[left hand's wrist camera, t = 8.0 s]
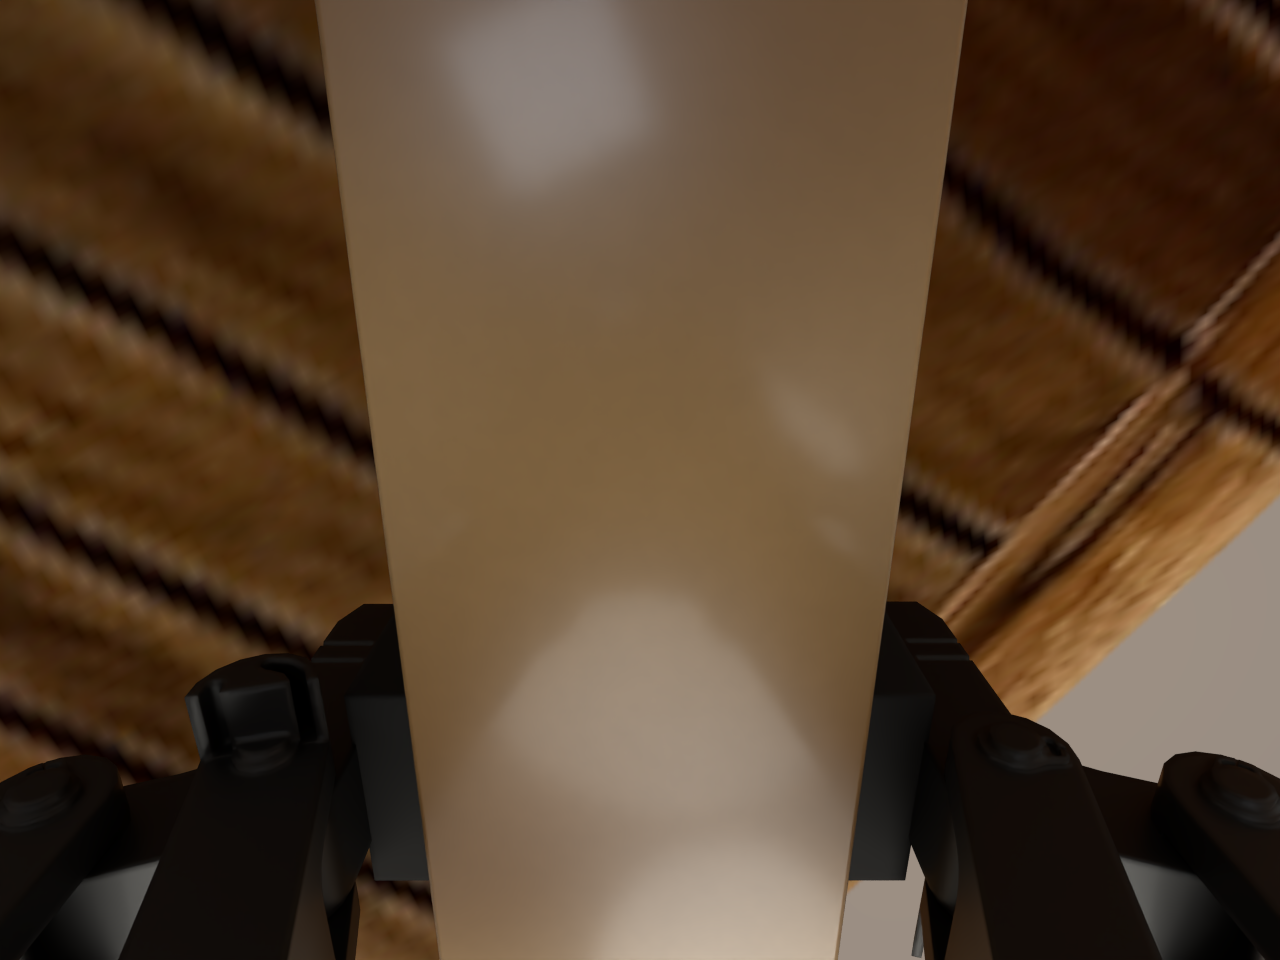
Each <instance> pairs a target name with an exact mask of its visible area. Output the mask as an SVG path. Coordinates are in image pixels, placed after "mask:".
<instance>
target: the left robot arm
mask: <svg viewBox="0 0 1280 960" xmlns="http://www.w3.org/2000/svg"><path fill="white" fill-rule="evenodd" d="M311 660H312V661H310V660H308V659H307V658H306V657H302V656H297V655H293V654H289V653H283V654H263V655H259V656H255V657H250V658H246V659H241V660H238V661H236V662H234V663H231V664H229V665H226V666H224V667H222V668H219V669H217V670H215V671H214V672H212V673H211V674H209V675H208V676H206V677H205V678H203V679H202V680H200V681H199V682H197V683H196V684H195V686H194V687H193V688H192V689H191V690H190V692H189V693H188V694H187V695H186V696H185V701H186V705H187V709H188V713H189V717H190V721H191V724H192V728H193V732H194V736H195V740H196V744H197V748H198V752H199V755H200V759H201V761H200V764H199V766H198V768H197V769H196V770H192V771H189V772H185V773H181V774H178V775H173V776H168V777H164V778H159V779H155V780H150V781H145V782H141V783H136V784H131V785H127V786H123V784H122V781H121V778H120V775H119V771H118V768H117V766H116V765H114V764H113V763H112V762H111V761H109V760H108V759H107V758H105V757H98V756H91V755H79V756H72V757H64V758H58V759H55V760H51V761H47V762H46V763H41V764H38V765H35V766H33V767H30V768H28V769H26V770H24V771H22V772H20V773H18V774H16V775H14V776H12V777H10V778H8V779H6V780H4V781H2V782H1V783H0V960H355V956H356V946H357V936H358V926H359V917H360V905H359V898H358V892H357V886H356V881H355V880H356V878H357V875H358V873H359V870H360V868H361V866H362V863H363V861H364V859H365V856H366V854H367V851H368V849H369V848H370V854H371V860H372V866H373V872H374V878H375V880H429V873H428V866H427V858H426V850H425V843H424V835H423V827H422V820H421V812H420V804H419V797H418V789H417V781H416V774H415V766H414V758H413V751H412V743H411V735H410V728H409V720H408V712H407V705H406V697H405V689H404V682H403V674H402V666H401V658H400V651H399V643H398V635H397V628H396V620H395V612H394V605H393V604H363V605H362V606H360V607H359V608H357V609H356V610H354V611H353V612H351V613H350V614H348V615H347V616H345V617H344V618H343V619H341V620H340V621H338V622H337V624H336V625H335V627H334V628H333V629H332V631H331V632H330V634H329V635H328V636H327V638H326V639H325V641H324V644H323V646H320V647H319V649H318V650H317V652H316V653H315V654H314V656H313V657H312V659H311ZM911 845H912V848H913V850H914V852H915V855H916V857H917V859H918V862H919V864H920V867H921V869H922V871H923V874H924V876H925V881H924V886H923V892H922V898H921V903H920V909H919V914H918V920H917V925H916V931H915V936H914V942H913V949H912V956H915V957H919V958H921V957H922V952H923V947H924V954H925V960H1280V779H1279V778H1277V777H1275V776H1273V775H1271V774H1269V773H1267V772H1265V771H1263V770H1261V769H1260V768H1257V767H1256V766H1254V765H1252V764H1249V763H1247V762H1244V761H1241V760H1236V759H1235V758H1231V757H1227V756H1223V755H1219V754H1211V753H1203V752H1196V751H1195V752H1188V753H1181V754H1175V755H1174V756H1173V757H1171V758H1170V759H1169V760H1168V761H1166V762H1165V763H1164V765H1163V768H1162V772H1161V775H1160V778H1159V781H1158V783H1154V782H1150V781H1145V780H1140V779H1136V778H1131V777H1126V776H1122V775H1117V774H1113V773H1108V772H1103V771H1099V770H1096V769H1092V768H1089V767H1085V766H1082V765H1081V762H1080V760H1079V758H1078V757H1077V756H1076V754H1075V753H1074V751H1073V750H1072V748H1071V747H1070V746H1069V744H1068V743H1067V742H1065V741H1064V740H1063V739H1062V738H1060V737H1059V736H1058V735H1056V734H1055V733H1054V732H1052V731H1051V730H1050V729H1048V728H1046V727H1044V726H1042V725H1040V724H1037V723H1035V722H1033V721H1031V720H1029V719H1027V718H1023V717H1019V716H1016V715H1012V714H1010V712H1009V711H1008V709H1007V708H1006V707H1005V705H1004V704H1003V702H1002V701H1001V700H1000V698H999V697H998V696H997V694H996V693H995V691H994V690H993V689H992V687H991V686H990V684H989V683H988V682H987V680H986V679H985V678H984V676H983V675H982V673H981V672H980V671H979V669H978V668H977V666H976V665H975V664H974V662H973V661H970V660H969V655H968V654H967V653H966V651H965V650H964V648H963V647H962V646H961V644H960V643H957V639H956V637H955V636H954V635H953V633H952V632H951V630H950V629H949V628H948V626H947V625H946V624H945V622H944V621H943V619H941V618H940V617H938V616H937V615H935V614H934V613H933V612H931V611H930V610H928V609H927V608H925V607H924V606H922V605H921V604H919V603H918V602H886V607H885V614H884V621H883V629H882V636H881V643H880V651H879V658H878V666H877V673H876V680H875V688H874V695H873V702H872V710H871V717H870V725H869V732H868V739H867V747H866V754H865V761H864V769H863V776H862V784H861V791H860V798H859V806H858V813H857V821H856V828H855V835H854V843H853V850H852V857H851V865H850V872H849V880H905V878H906V872H907V866H908V860H909V854H910V848H911Z"/></svg>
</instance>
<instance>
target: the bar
mask: <svg viewBox="0 0 1280 960" xmlns="http://www.w3.org/2000/svg"><path fill="white" fill-rule="evenodd" d="M967 2H968V0H315V6H316V14H317V21H318V29H319V37H320V45H321V52H322V60H323V68H324V75H325V83H326V91H327V98H328V106H329V114H330V121H331V129H332V137H333V144H334V152H335V160H336V167H337V175H338V183H339V190H340V198H341V206H342V213H343V221H344V229H345V236H346V244H347V252H348V259H349V267H350V275H351V282H352V290H353V298H354V305H355V313H356V321H357V328H358V336H359V344H360V352H361V359H362V367H363V375H364V382H365V390H366V398H367V405H368V413H369V421H370V428H371V436H372V444H373V451H374V459H375V467H376V474H377V482H378V490H379V497H380V505H381V513H382V520H383V528H384V536H385V543H386V551H387V559H388V566H389V574H390V582H391V589H392V597H393V605H394V612H395V620H396V628H397V635H398V643H399V651H400V658H401V666H402V674H403V682H404V689H405V697H406V705H407V712H408V720H409V728H410V735H411V743H412V751H413V758H414V766H415V774H416V781H417V789H418V797H419V804H420V812H421V820H422V827H423V835H424V843H425V850H426V858H427V866H428V873H429V881H430V889H431V896H432V904H433V912H434V919H435V927H436V935H437V942H438V950H439V958H440V960H838V953H839V946H840V938H841V931H842V924H843V916H844V909H845V901H846V894H847V887H848V880H849V872H850V865H851V857H852V850H853V843H854V835H855V828H856V821H857V813H858V806H859V798H860V791H861V784H862V776H863V769H864V761H865V754H866V747H867V739H868V732H869V725H870V717H871V710H872V702H873V695H874V688H875V680H876V673H877V666H878V658H879V651H880V643H881V636H882V629H883V621H884V614H885V607H886V599H887V592H888V584H889V577H890V570H891V562H892V555H893V548H894V540H895V533H896V525H897V518H898V511H899V503H900V496H901V489H902V481H903V474H904V466H905V459H906V452H907V444H908V437H909V429H910V422H911V415H912V407H913V400H914V393H915V385H916V378H917V370H918V363H919V356H920V348H921V341H922V334H923V326H924V319H925V311H926V304H927V297H928V289H929V282H930V275H931V267H932V260H933V252H934V245H935V238H936V230H937V223H938V216H939V208H940V201H941V193H942V186H943V179H944V171H945V164H946V157H947V149H948V142H949V134H950V127H951V120H952V112H953V105H954V97H955V90H956V83H957V75H958V68H959V61H960V53H961V46H962V38H963V31H964V24H965V16H966V9H967Z"/></svg>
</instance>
